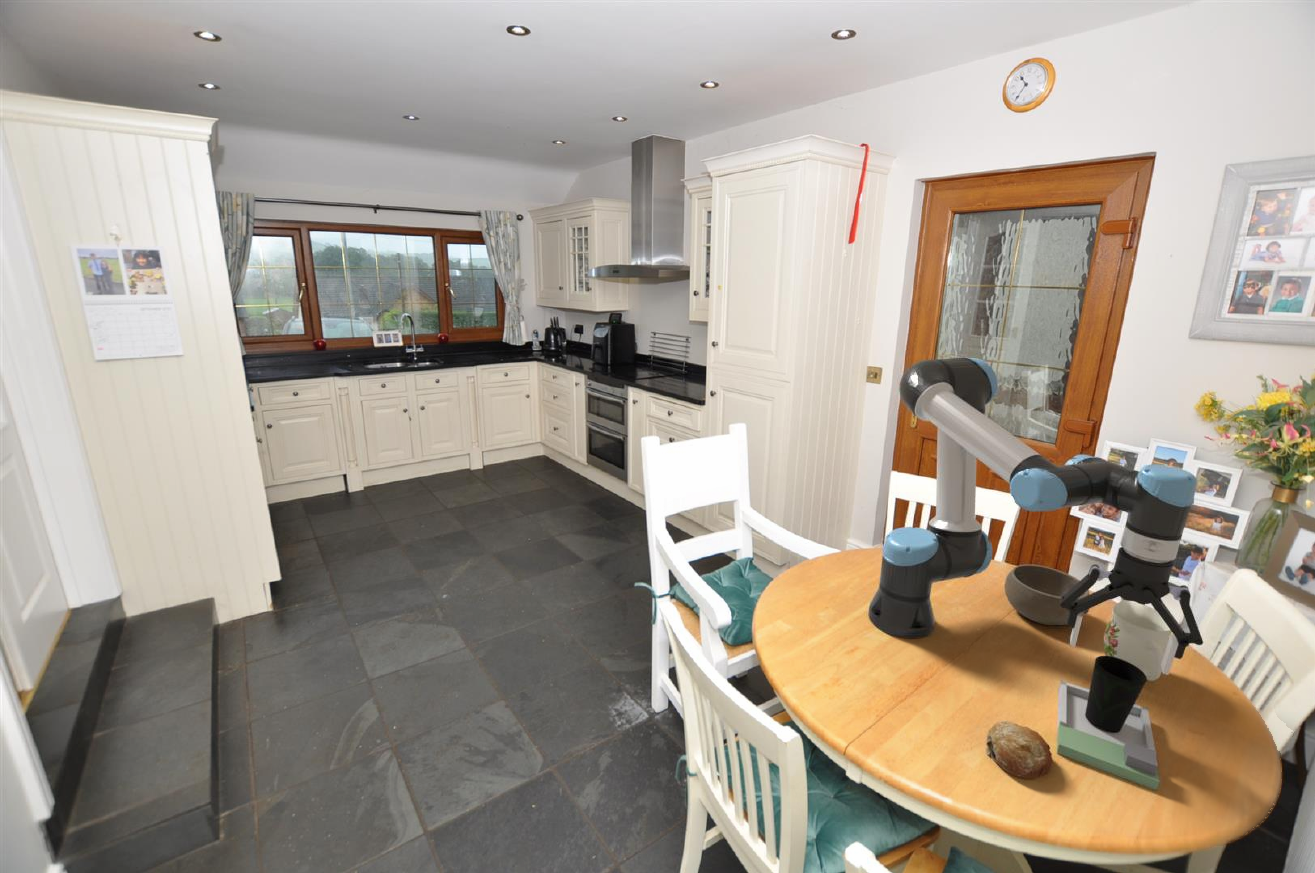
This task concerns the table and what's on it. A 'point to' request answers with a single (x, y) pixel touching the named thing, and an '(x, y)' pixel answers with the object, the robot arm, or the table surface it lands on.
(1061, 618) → the bowl
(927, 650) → the table surface
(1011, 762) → the bread roll
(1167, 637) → the pitcher
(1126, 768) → the green and grey tray
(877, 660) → the table surface
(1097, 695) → the cup
